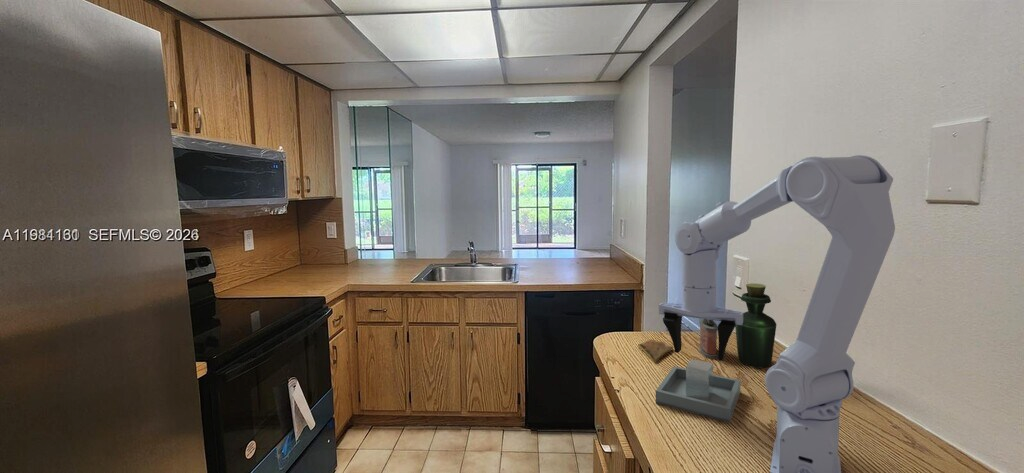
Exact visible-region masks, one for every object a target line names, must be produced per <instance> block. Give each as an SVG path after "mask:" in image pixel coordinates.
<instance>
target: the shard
mask: <svg viewBox="0 0 1024 473" xmlns="http://www.w3.org/2000/svg"><path fill="white" fill-rule="evenodd" d="M637 347H638V348H639V349H640V350H642V351H643V352H644V354H645V356H646V357H647V358H648V359H649V360H650V362H653V363H655V364H656V363H657V362H658V361H659V359H661V358H663V356H664V355H666V354H668V353H669V352H670V351H673V349H674V346H673V345H671V344H668V343H666V342H663V341H659V340H655V339H651V338H650V339H646V341H644V342H643V341H642V343H638V344H637Z"/></svg>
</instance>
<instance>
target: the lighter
mask: <svg viewBox="0 0 1024 473" xmlns="http://www.w3.org/2000/svg"><path fill="white" fill-rule="evenodd" d="M698 323H699V343H698V348H699V351H700V354H701V355H703V356H704V357H705V358H706V359H710V360H715V359H718V351H717V339H718V324H717V323H716V321H715V320H708V319H700V318H698Z"/></svg>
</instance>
